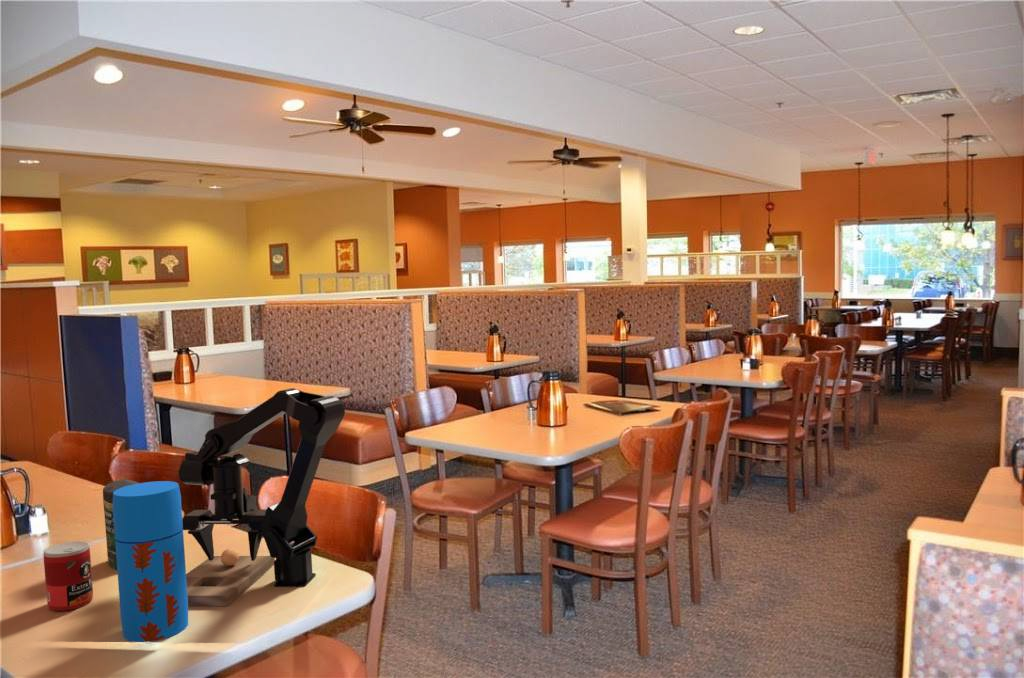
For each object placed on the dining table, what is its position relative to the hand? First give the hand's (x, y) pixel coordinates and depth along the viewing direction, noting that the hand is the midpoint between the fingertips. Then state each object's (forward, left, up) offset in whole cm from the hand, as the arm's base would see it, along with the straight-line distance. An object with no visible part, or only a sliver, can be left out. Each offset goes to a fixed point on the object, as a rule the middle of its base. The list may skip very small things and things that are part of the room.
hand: (232, 560), depth 168 cm
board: (0, +6, -3) cm, 7 cm away
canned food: (+25, +16, -3) cm, 30 cm away
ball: (0, +1, +1) cm, 1 cm away
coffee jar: (+26, -5, -3) cm, 27 cm away
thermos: (+1, +27, -3) cm, 27 cm away
